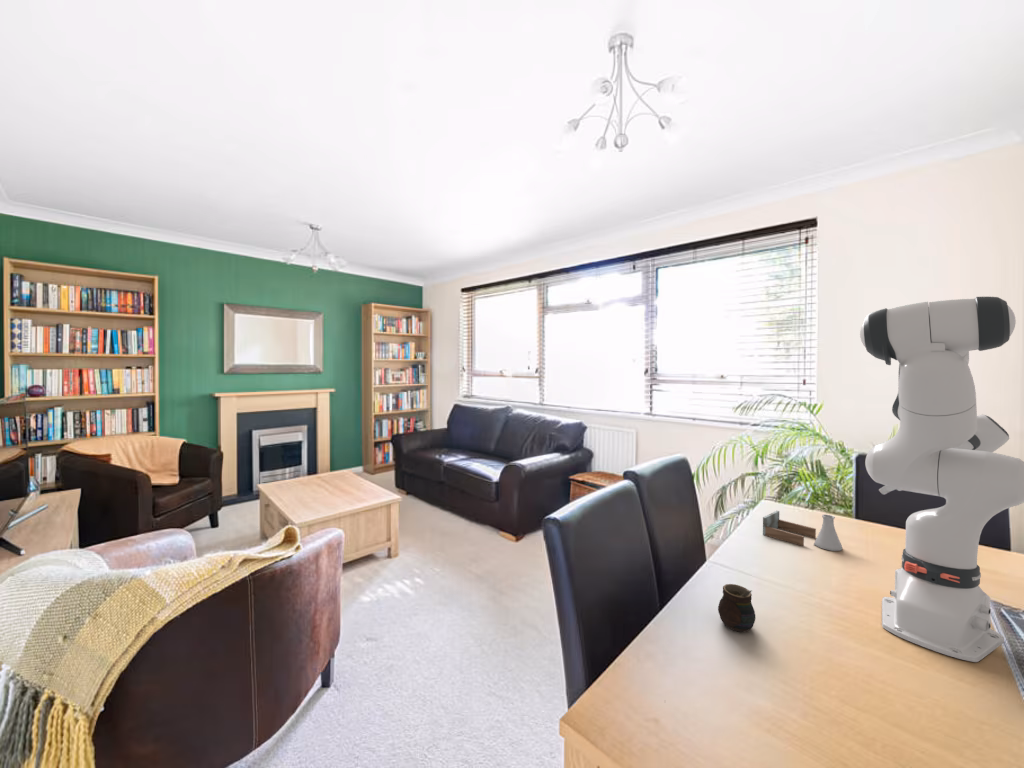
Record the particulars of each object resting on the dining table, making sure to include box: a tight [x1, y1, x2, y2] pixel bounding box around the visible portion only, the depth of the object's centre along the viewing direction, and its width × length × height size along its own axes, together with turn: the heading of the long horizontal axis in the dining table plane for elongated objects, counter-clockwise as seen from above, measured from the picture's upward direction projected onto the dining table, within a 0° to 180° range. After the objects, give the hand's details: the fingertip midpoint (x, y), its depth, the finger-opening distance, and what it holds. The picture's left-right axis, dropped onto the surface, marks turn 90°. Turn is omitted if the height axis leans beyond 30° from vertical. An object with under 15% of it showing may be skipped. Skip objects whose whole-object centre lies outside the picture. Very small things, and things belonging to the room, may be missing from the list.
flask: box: [813, 513, 843, 552], centre depth 130 cm, size 7×7×10 cm
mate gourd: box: [717, 583, 756, 633], centre depth 89 cm, size 7×8×10 cm
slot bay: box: [762, 510, 817, 547], centre depth 139 cm, size 12×12×6 cm
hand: (884, 489), depth 119 cm, fingers open, 7 cm apart
